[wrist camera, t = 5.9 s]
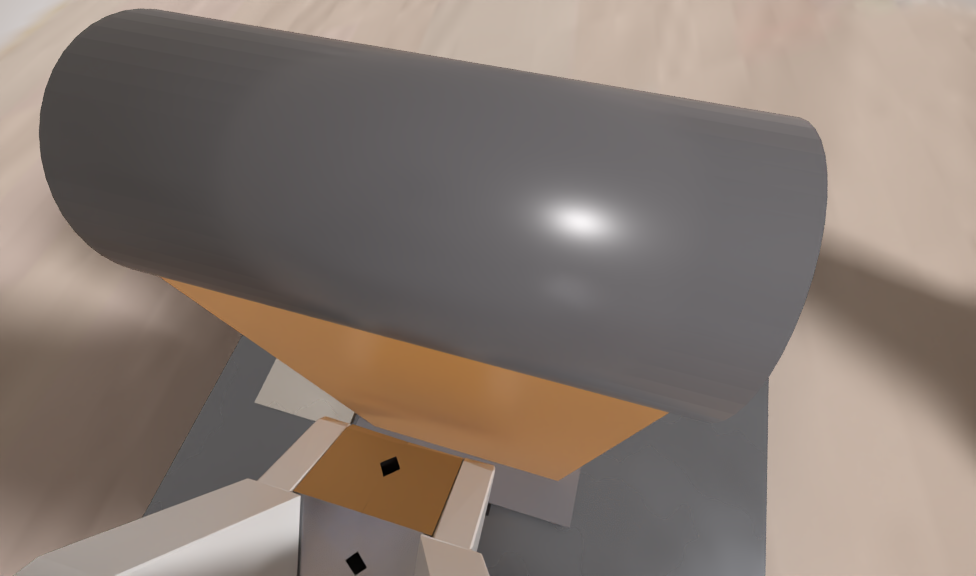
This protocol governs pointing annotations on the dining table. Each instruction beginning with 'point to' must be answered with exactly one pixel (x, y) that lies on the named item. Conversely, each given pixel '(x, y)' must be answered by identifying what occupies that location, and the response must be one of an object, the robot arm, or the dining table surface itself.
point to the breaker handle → (446, 231)
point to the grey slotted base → (509, 534)
